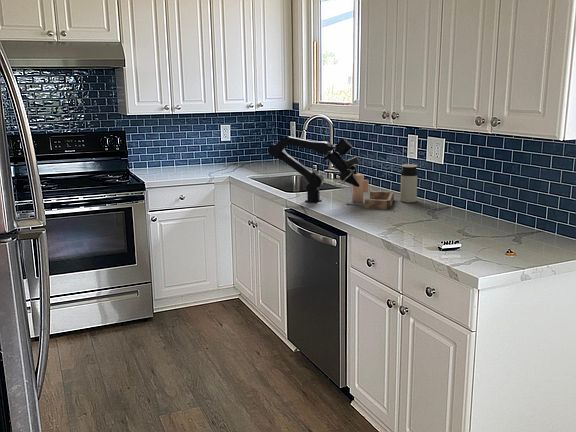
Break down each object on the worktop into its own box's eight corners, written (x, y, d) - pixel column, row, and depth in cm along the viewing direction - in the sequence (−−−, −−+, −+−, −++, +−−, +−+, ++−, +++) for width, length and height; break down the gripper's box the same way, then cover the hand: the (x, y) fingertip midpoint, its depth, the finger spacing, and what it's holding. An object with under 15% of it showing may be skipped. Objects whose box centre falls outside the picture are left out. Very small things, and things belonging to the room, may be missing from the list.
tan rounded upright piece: (351, 202, 278) (351, 175, 275) (352, 200, 284) (353, 173, 281) (367, 203, 276) (368, 175, 273) (368, 201, 282) (369, 174, 279)
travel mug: (419, 202, 280) (420, 165, 276) (405, 203, 278) (406, 166, 274) (411, 199, 287) (412, 163, 283) (397, 200, 285) (398, 164, 281)
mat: (346, 204, 277) (346, 203, 277) (349, 200, 286) (349, 199, 286) (367, 205, 274) (367, 204, 274) (369, 201, 284) (369, 200, 284)
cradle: (364, 208, 268) (364, 199, 267) (370, 198, 290) (370, 191, 289) (389, 209, 265) (390, 200, 265) (393, 199, 287) (393, 191, 286)
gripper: (346, 152, 267) (370, 176, 267) (352, 148, 284) (374, 170, 284) (330, 169, 271) (353, 192, 270) (336, 163, 288) (358, 185, 288)
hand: (360, 184), depth 278 cm, fingers open, 9 cm apart
